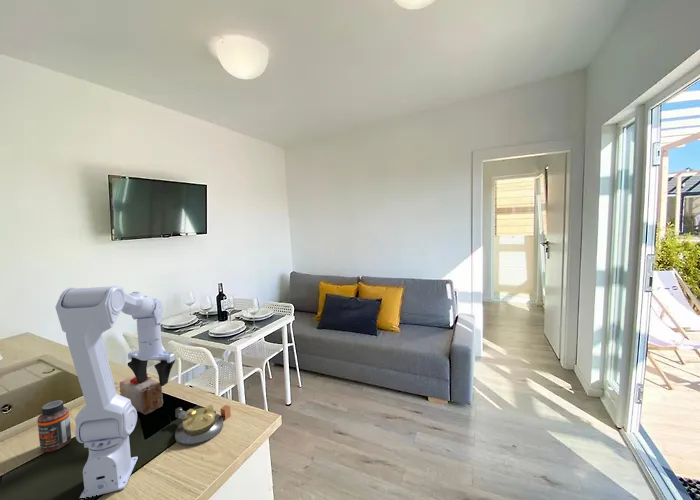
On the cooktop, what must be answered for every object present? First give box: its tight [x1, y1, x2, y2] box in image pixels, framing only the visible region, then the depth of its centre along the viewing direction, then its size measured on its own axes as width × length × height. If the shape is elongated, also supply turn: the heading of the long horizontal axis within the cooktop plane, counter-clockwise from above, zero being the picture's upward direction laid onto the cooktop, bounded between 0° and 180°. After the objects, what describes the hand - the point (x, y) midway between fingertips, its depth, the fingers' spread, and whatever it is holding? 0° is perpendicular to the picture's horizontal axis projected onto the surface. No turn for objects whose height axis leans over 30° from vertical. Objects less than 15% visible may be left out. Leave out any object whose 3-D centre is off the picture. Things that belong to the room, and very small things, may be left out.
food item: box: [119, 373, 164, 415], centre depth 97 cm, size 14×8×10 cm, turn 63°
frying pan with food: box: [174, 404, 232, 447], centre depth 86 cm, size 14×12×3 cm
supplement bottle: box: [37, 399, 72, 453], centre depth 80 cm, size 6×6×11 cm
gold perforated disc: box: [174, 404, 216, 435], centre depth 86 cm, size 14×8×3 cm, turn 64°
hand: (153, 383), depth 91 cm, fingers open, 7 cm apart
